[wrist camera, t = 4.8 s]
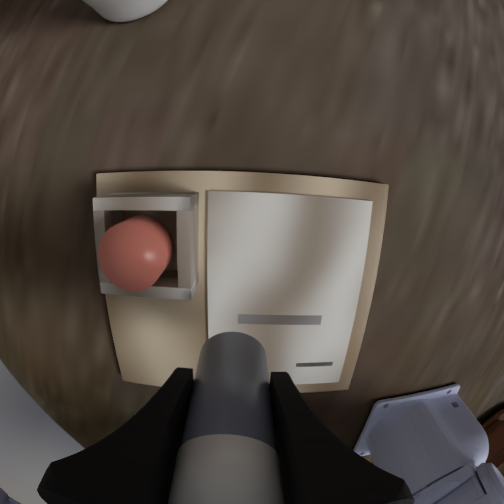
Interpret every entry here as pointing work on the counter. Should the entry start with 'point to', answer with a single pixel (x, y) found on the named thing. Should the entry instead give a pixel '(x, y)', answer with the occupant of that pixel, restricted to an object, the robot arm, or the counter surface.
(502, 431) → the cup and saucer
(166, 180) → the control panel
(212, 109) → the counter surface
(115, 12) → the drinking glass
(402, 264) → the counter surface
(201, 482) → the cylinder
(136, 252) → the button
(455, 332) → the counter surface
